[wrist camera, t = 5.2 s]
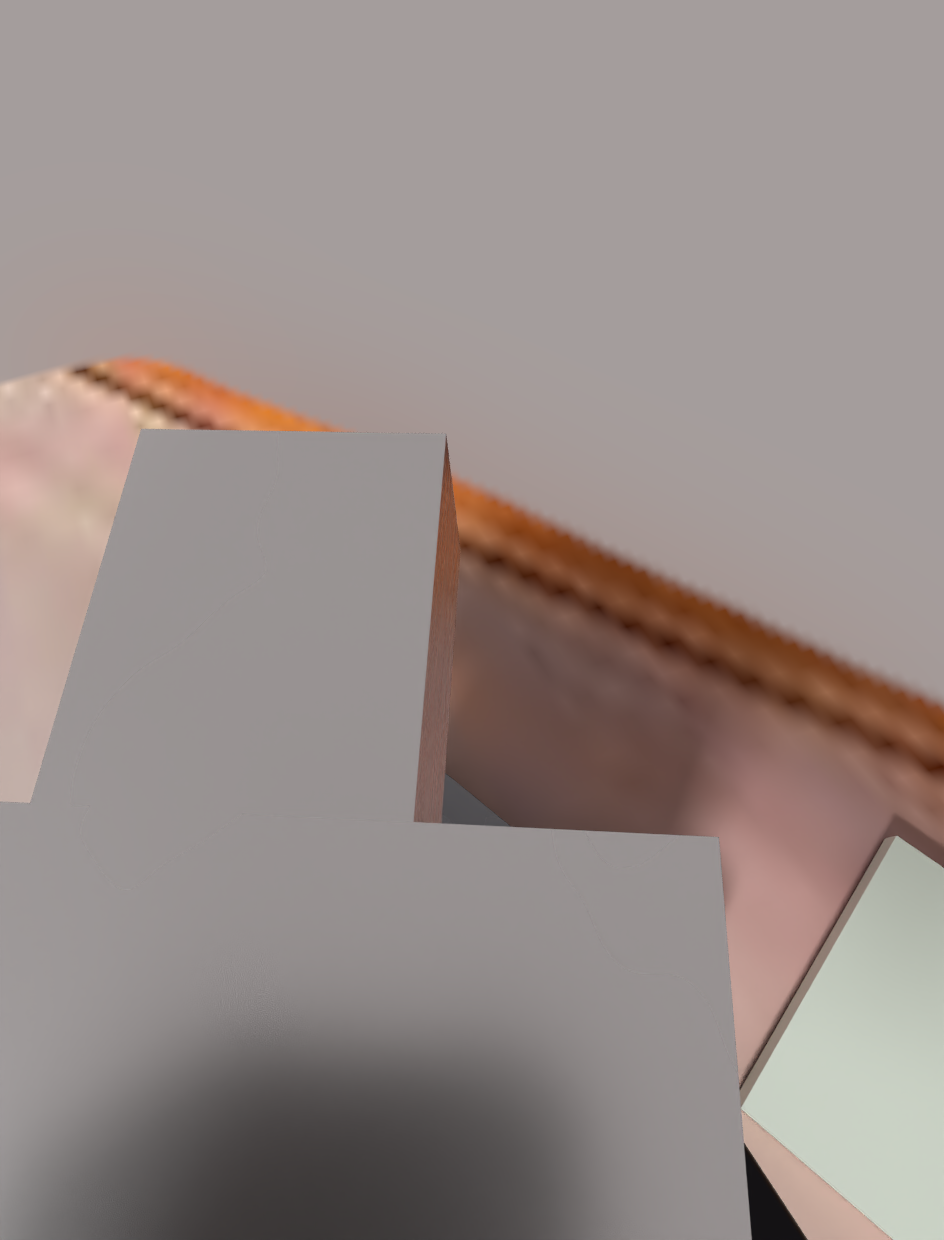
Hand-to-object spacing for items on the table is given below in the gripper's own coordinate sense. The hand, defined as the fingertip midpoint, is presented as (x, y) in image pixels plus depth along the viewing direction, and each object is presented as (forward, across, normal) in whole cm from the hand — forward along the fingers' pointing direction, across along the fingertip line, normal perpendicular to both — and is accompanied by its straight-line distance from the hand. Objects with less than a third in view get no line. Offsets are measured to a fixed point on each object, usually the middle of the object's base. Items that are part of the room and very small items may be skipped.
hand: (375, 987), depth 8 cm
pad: (+6, -12, +9) cm, 16 cm away
